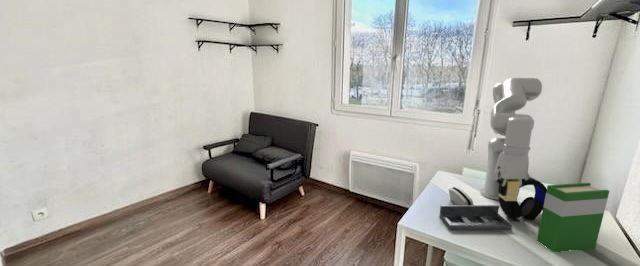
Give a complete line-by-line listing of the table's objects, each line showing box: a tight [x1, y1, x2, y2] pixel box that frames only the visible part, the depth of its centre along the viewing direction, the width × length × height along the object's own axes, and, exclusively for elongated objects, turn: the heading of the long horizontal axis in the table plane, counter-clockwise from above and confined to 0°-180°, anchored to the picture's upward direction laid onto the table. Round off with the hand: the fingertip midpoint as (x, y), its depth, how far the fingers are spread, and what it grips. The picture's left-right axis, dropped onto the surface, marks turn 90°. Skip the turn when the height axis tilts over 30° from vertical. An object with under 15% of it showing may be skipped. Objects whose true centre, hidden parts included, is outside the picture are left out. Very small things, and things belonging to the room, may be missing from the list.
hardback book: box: [536, 182, 610, 254], centre depth 108 cm, size 18×7×24 cm, turn 97°
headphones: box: [498, 176, 547, 222], centre depth 127 cm, size 19×7×20 cm, turn 94°
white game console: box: [448, 186, 474, 205], centre depth 140 cm, size 17×5×10 cm, turn 5°
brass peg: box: [499, 179, 520, 202], centre depth 111 cm, size 4×4×8 cm
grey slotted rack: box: [438, 204, 513, 232], centre depth 125 cm, size 26×11×6 cm, turn 89°
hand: (508, 193), depth 111 cm, fingers closed on brass peg, 4 cm apart
